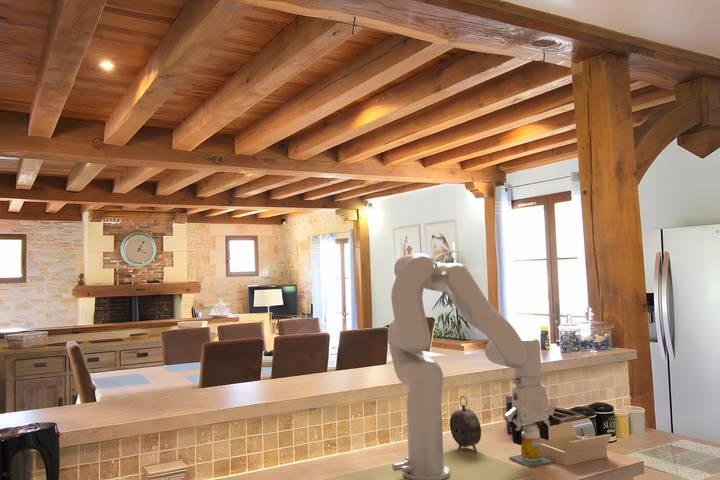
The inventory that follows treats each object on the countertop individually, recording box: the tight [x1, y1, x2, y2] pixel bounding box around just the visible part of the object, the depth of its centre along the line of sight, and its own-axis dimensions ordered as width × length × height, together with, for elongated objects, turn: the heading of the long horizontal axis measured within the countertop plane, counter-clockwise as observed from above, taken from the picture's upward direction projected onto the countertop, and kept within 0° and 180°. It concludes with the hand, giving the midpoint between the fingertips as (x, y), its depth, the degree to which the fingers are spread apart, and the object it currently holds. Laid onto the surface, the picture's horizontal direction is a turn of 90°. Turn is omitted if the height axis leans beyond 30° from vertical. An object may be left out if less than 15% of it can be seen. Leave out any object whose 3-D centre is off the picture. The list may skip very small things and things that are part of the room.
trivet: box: [508, 454, 556, 469], centre depth 169 cm, size 9×9×1 cm
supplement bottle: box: [520, 422, 541, 461], centre depth 169 cm, size 5×5×10 cm
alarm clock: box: [449, 395, 482, 453], centre depth 183 cm, size 11×5×16 cm, turn 27°
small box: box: [505, 395, 524, 434], centre depth 203 cm, size 11×6×10 cm, turn 168°
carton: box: [536, 421, 612, 466], centre depth 173 cm, size 16×16×7 cm
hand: (531, 441), depth 169 cm, fingers open, 9 cm apart
